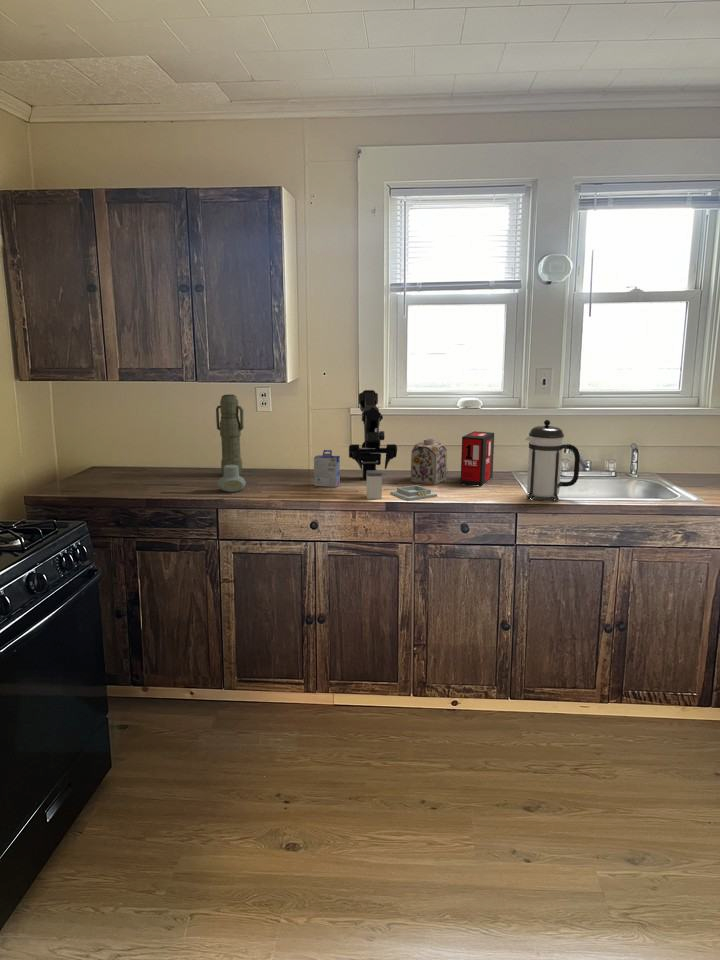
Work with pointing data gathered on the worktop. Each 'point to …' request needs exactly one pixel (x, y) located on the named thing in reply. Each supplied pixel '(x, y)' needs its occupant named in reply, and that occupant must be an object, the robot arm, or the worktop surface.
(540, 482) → the coffee press
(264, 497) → the worktop surface
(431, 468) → the decorative jar
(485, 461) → the cleaning product box
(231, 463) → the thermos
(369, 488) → the block
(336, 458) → the ink cartridge box
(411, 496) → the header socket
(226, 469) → the air freshener
